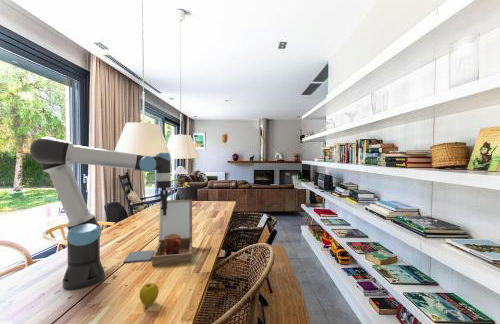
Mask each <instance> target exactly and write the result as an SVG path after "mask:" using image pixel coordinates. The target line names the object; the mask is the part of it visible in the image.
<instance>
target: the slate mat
mask: <svg viewBox="0 0 500 324" xmlns="http://www.w3.org/2000/svg"><path fill="white" fill-rule="evenodd" d="M154 252H155V250H154V249H151V250H141V251H140V250H138V251H137V250H136V251H130V252H129V253H128V254H127V256H126V257H125V259H123V264H128V263H129V264H130V263H139V262H141V263H142V262H150V261H151V262H152V256H153V254H154Z"/></svg>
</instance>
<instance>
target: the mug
mask: <svg viewBox="0 0 500 324" xmlns="http://www.w3.org/2000/svg"><path fill="white" fill-rule="evenodd" d="M180 237H181V235H179V234H169V235H166V236H165V237H164V239H165V242H166V249H165V255H172V254H180V250H181V249H182V248H181V241H180Z"/></svg>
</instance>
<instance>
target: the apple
mask: <svg viewBox="0 0 500 324" xmlns="http://www.w3.org/2000/svg"><path fill="white" fill-rule="evenodd" d="M159 291H160V290H159V287H158V284H157V283H154V282H153V283H151V282H150V283H144V284H143V286H141V288H140V290H139V294H138V295H139V300H140V301H141V303H142V305H144V306H151V305H152V304H154V303H155V302H156V301H157V298H158V296H159Z"/></svg>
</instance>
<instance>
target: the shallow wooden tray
mask: <svg viewBox="0 0 500 324" xmlns="http://www.w3.org/2000/svg"><path fill="white" fill-rule="evenodd" d="M180 241H181V248H180V249H188V248H189V250H188V252H186V253H179V254H172V255H166V254H163V255H160V253H161V251H162V250H163V251H164V250H165V251H166V242H165V240H159V239H158V243H157V245H156V247H155V252H154V254H153V256H152V258H151V267H156V266H157V267H158V266H167V265H178V264H188V263H192V261H193V258H192V257H193V237H192V238H180Z"/></svg>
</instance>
